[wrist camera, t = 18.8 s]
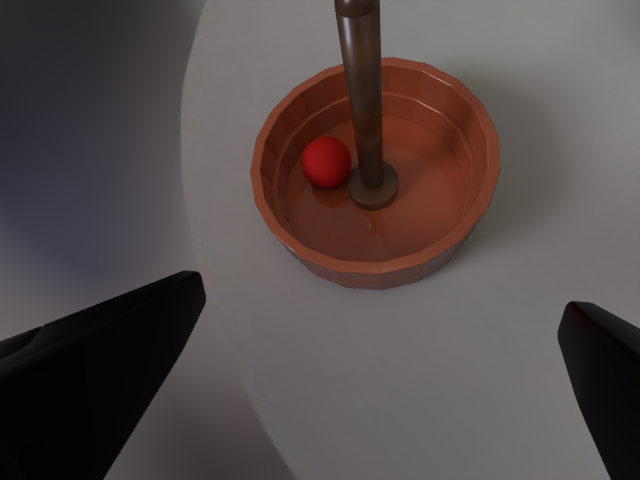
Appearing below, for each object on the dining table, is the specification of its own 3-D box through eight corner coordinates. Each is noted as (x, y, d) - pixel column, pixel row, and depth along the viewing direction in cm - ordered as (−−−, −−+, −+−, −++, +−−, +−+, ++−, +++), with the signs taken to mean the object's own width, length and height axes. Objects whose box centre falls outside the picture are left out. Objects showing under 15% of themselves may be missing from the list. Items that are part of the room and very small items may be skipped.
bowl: (387, 337, 20) (387, 331, 16) (240, 211, 25) (206, 177, 20) (519, 175, 22) (555, 126, 17) (359, 85, 26) (352, 26, 22)
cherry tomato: (329, 192, 24) (324, 203, 21) (296, 160, 24) (285, 166, 21) (362, 159, 23) (361, 165, 20) (328, 124, 23) (321, 125, 20)
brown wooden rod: (407, 196, 22) (433, -17, 9) (362, 219, 22) (329, 37, 10) (383, 159, 23) (377, -75, 11) (340, 180, 23) (285, -26, 11)
